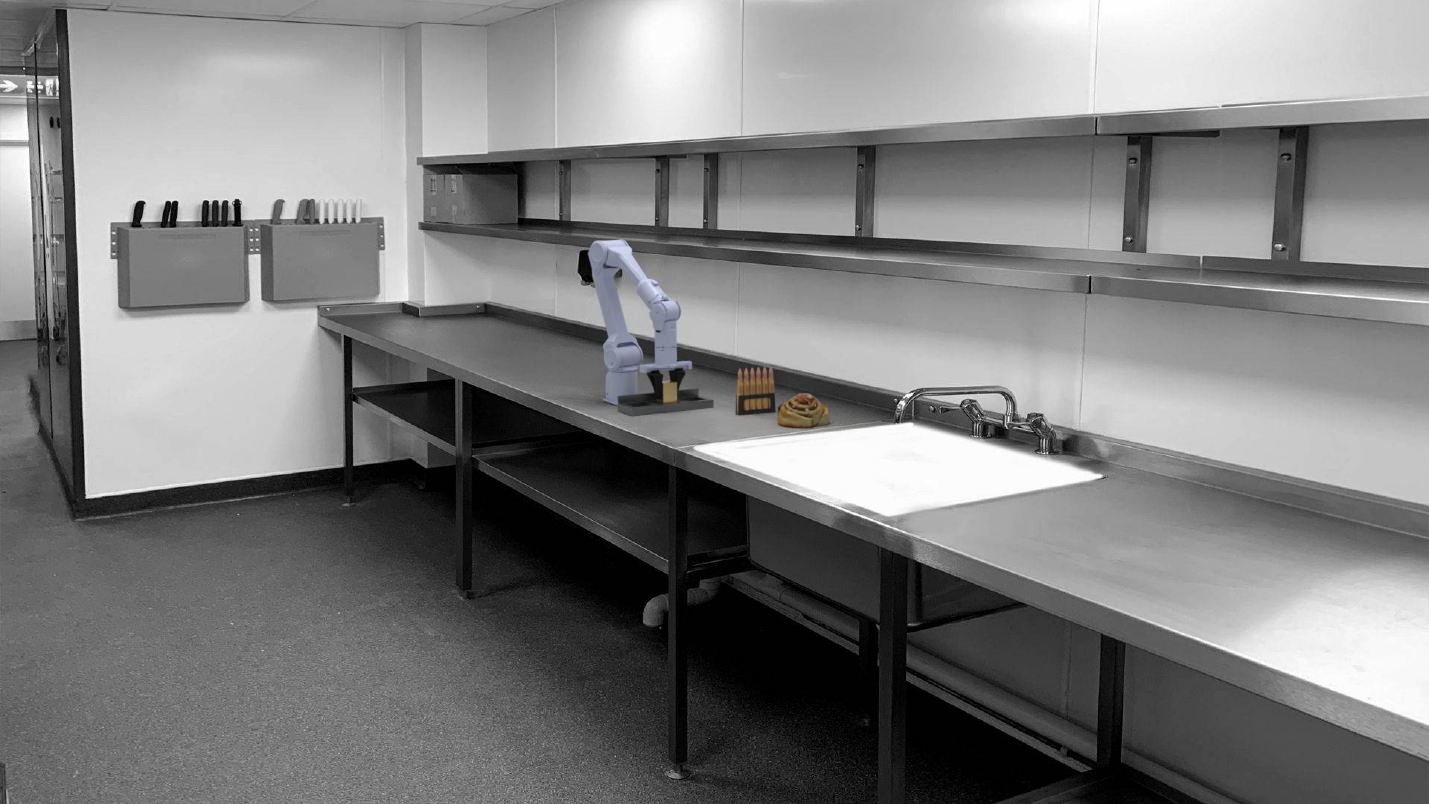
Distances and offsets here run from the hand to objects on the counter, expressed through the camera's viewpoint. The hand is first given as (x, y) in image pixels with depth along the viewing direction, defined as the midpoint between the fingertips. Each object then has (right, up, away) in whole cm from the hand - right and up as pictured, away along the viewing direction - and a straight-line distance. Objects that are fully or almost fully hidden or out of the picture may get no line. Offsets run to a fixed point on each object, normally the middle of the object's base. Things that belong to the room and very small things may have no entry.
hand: (666, 398), depth 316 cm
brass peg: (0, -3, 0) cm, 3 cm away
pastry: (+35, -7, -18) cm, 40 cm away
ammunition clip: (+23, -4, -5) cm, 24 cm away
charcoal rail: (0, -3, +1) cm, 3 cm away
